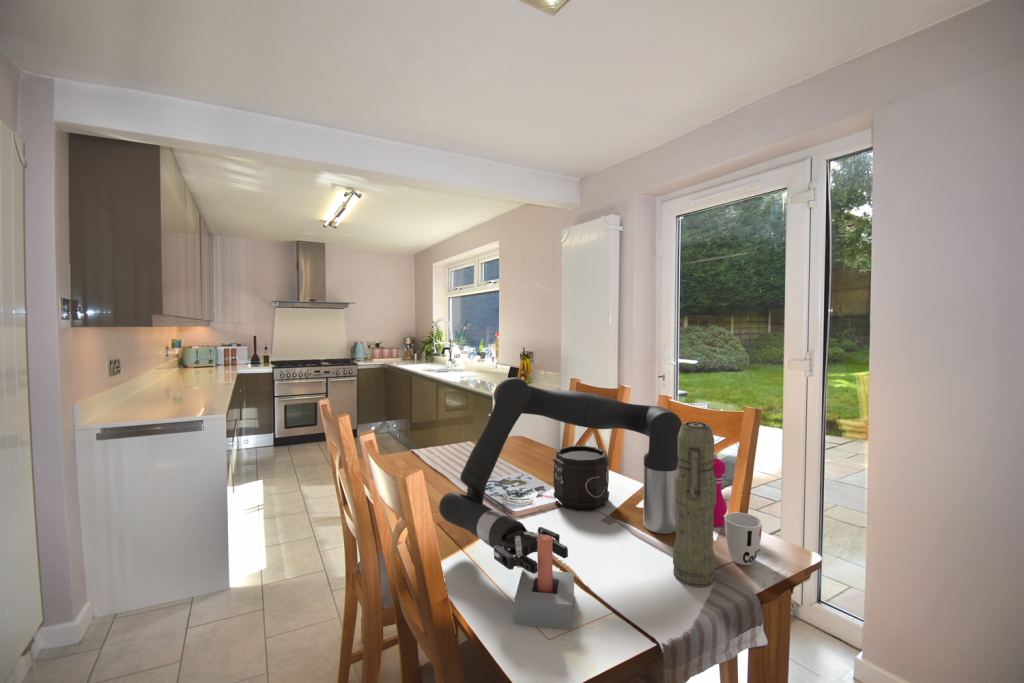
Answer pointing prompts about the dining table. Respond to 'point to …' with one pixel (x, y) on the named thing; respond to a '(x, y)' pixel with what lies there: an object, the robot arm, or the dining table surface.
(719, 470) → the pepper mill
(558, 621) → the socket block
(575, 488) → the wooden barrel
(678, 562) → the thermos
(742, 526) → the cup
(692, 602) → the dining table surface
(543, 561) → the pin
